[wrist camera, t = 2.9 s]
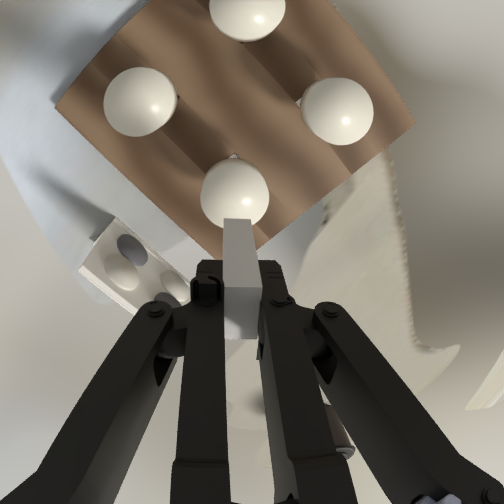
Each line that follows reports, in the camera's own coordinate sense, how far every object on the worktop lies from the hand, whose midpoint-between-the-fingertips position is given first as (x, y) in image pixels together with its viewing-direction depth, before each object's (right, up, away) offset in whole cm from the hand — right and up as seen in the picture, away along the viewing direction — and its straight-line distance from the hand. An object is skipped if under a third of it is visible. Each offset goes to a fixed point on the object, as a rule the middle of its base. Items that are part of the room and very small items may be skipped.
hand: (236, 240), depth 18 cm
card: (-10, -2, +15) cm, 18 cm away
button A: (0, +18, +2) cm, 18 cm away
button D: (-1, +5, +9) cm, 10 cm away
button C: (-7, +12, +5) cm, 15 cm away
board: (0, +13, +7) cm, 15 cm away
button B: (+7, +11, +6) cm, 15 cm away
